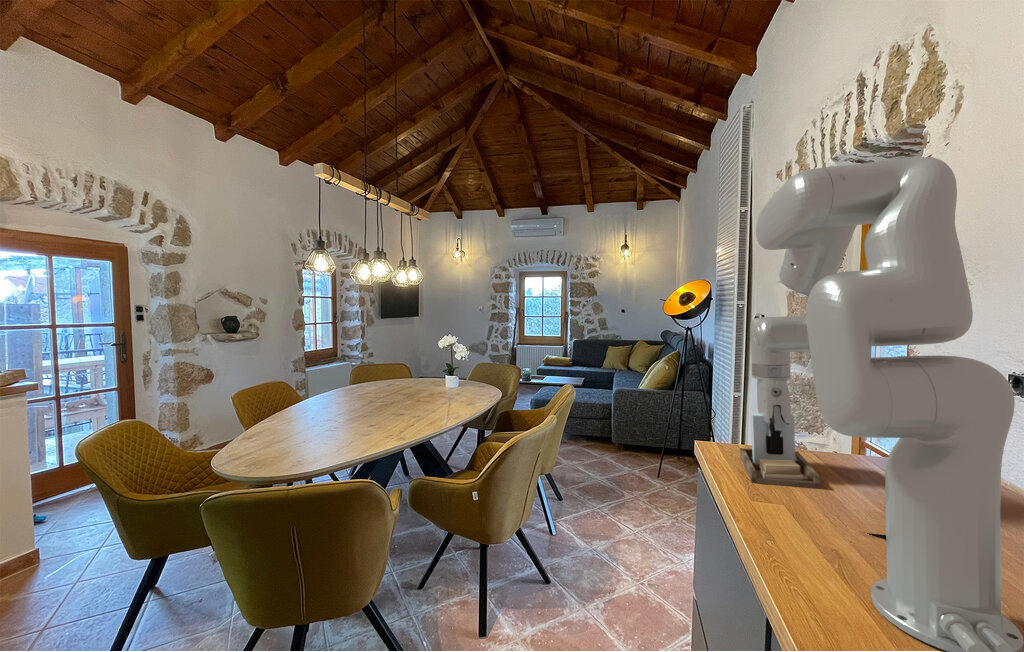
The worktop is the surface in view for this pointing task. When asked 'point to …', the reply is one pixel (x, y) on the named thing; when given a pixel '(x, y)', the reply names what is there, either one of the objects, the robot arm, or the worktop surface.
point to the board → (760, 440)
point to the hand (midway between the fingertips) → (773, 451)
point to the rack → (754, 472)
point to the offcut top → (780, 467)
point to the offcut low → (782, 476)
